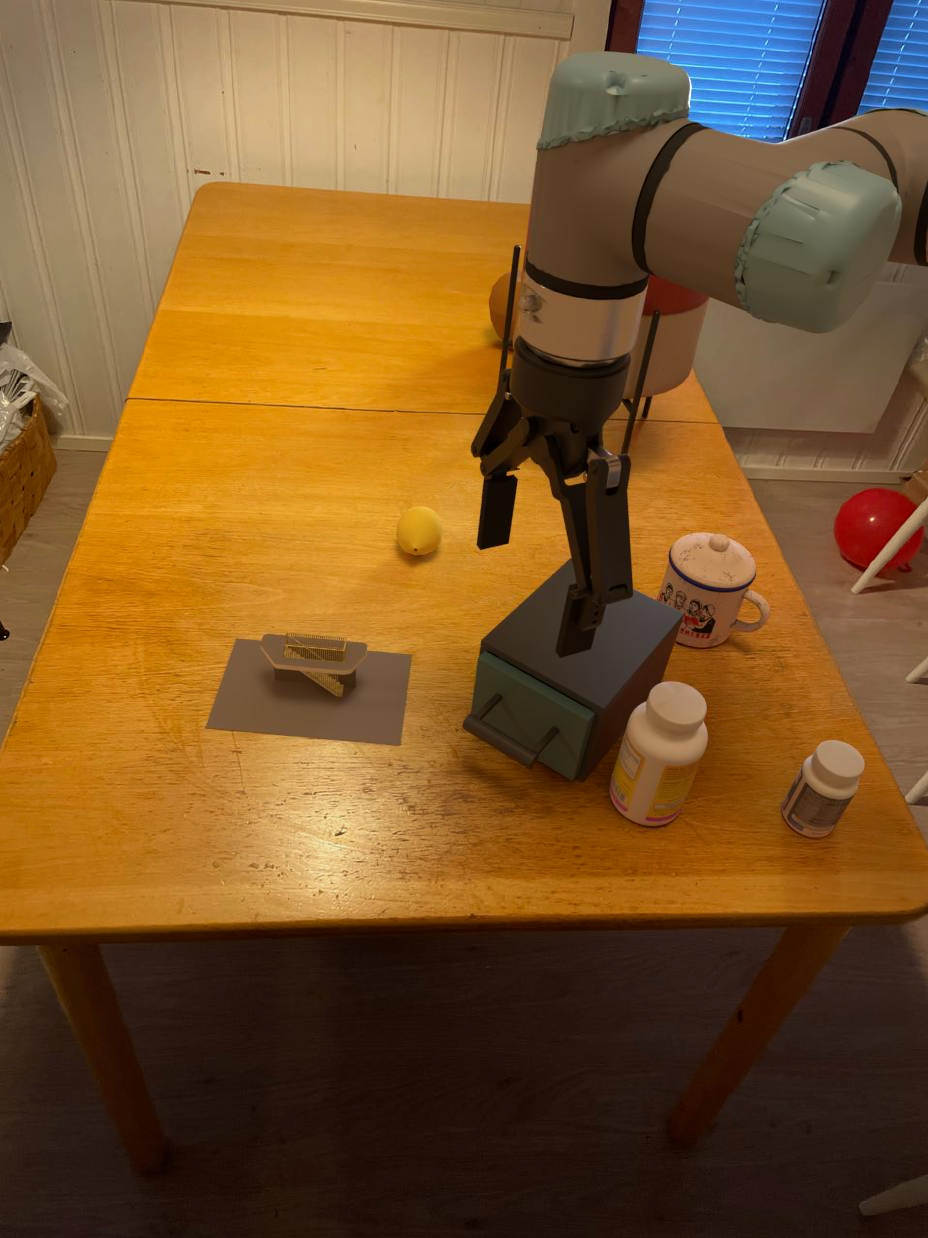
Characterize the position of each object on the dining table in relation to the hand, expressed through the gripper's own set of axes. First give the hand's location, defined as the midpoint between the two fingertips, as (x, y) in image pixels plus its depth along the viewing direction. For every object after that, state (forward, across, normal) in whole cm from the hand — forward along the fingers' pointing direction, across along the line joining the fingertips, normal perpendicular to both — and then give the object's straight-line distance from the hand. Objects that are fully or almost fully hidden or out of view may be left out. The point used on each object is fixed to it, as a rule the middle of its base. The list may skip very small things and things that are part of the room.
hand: (530, 594), depth 70 cm
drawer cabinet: (+18, -2, +8) cm, 20 cm away
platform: (+19, -13, -14) cm, 27 cm away
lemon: (+19, -30, +4) cm, 35 cm away
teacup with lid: (+19, -6, +28) cm, 34 cm away
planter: (+19, -44, +35) cm, 59 cm away
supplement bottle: (+19, +10, +9) cm, 23 cm away
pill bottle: (+19, +18, +22) cm, 34 cm away
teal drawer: (+18, 0, +5) cm, 18 cm away
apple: (+19, -75, +42) cm, 87 cm away
